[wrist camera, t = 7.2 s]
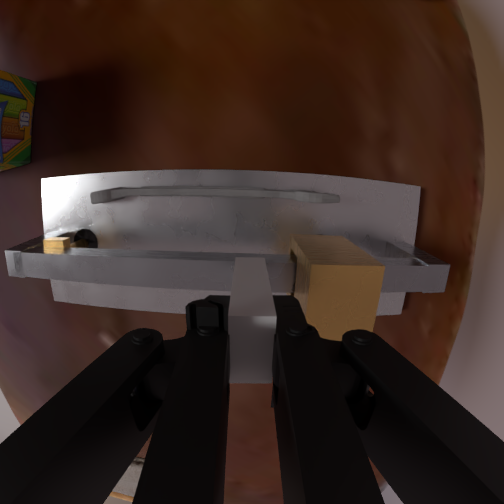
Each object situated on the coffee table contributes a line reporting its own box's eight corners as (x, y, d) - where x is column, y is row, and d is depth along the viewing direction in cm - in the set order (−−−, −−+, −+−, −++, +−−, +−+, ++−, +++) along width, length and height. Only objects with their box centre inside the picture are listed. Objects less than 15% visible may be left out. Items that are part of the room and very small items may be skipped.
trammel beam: (48, 178, 22) (-8, 184, 15) (413, 185, 23) (469, 194, 16) (60, 296, 26) (15, 331, 18) (395, 309, 26) (436, 350, 19)
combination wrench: (81, 206, 20) (348, 213, 20) (80, 190, 20) (349, 195, 20) (102, 201, 23) (334, 207, 24) (102, 186, 23) (335, 191, 23)
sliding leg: (283, 224, 22) (311, 264, 13) (328, 226, 23) (385, 266, 13) (280, 274, 24) (302, 343, 14) (323, 275, 24) (370, 340, 14)
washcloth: (56, 431, 32) (48, 443, 29) (156, 456, 33) (152, 472, 30) (80, 469, 35) (75, 481, 32) (170, 491, 36) (168, 504, 33)
